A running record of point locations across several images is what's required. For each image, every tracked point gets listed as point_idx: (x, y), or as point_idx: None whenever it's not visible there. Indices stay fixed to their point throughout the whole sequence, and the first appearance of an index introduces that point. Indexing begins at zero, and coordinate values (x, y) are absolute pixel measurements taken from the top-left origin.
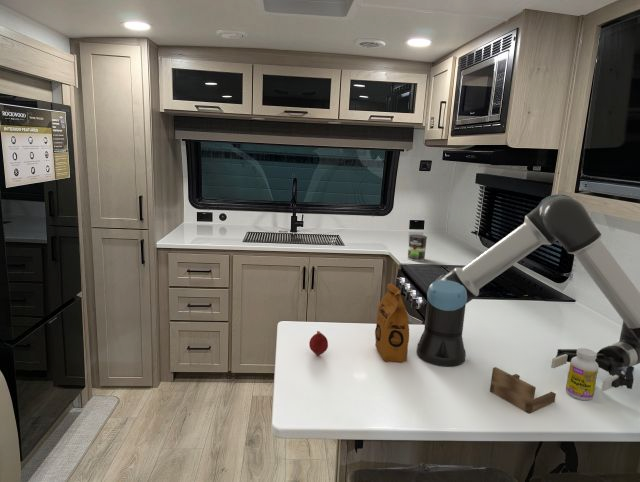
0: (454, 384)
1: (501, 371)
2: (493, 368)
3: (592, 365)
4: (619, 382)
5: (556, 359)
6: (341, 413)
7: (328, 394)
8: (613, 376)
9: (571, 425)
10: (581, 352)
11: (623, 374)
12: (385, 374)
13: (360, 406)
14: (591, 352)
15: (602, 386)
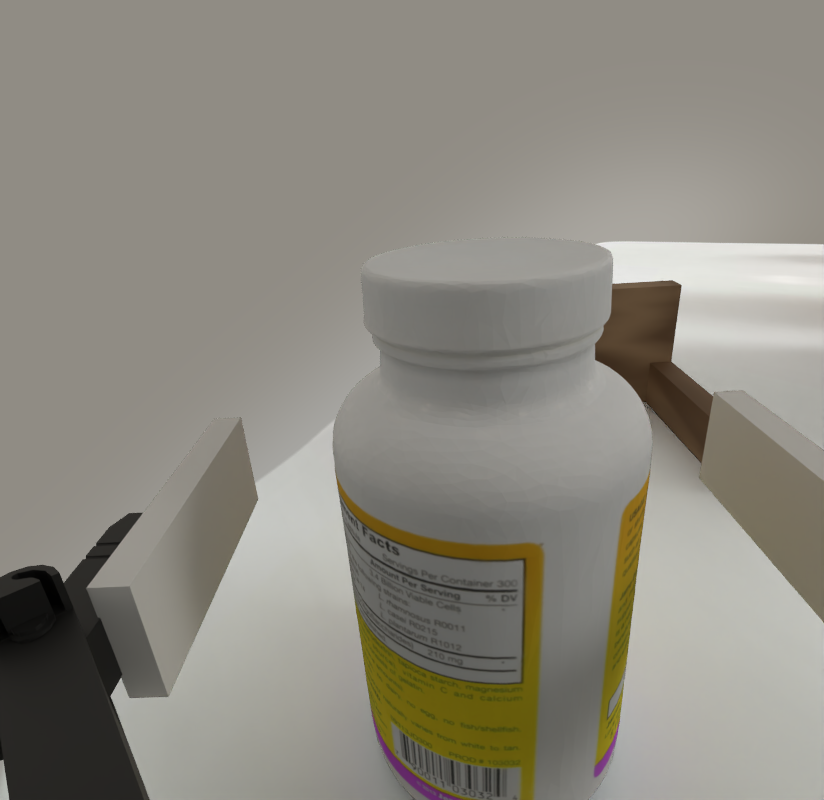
0: (728, 355)
1: (633, 284)
2: (669, 281)
3: (372, 372)
4: (91, 556)
5: (727, 408)
6: (613, 260)
7: (686, 258)
8: (157, 529)
9: (327, 447)
10: (494, 238)
11: (2, 591)
12: (798, 297)
13: (631, 269)
14: (440, 264)
15: (246, 468)
